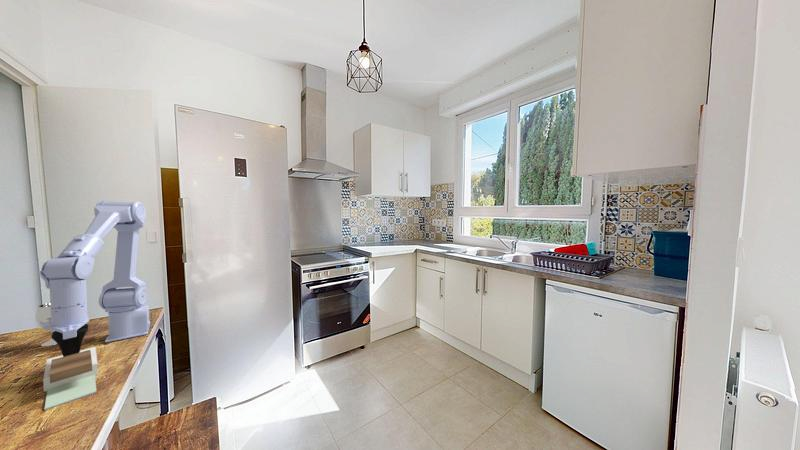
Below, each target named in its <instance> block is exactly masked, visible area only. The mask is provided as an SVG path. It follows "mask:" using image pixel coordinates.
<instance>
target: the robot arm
mask: <svg viewBox="0 0 800 450" xmlns="http://www.w3.org/2000/svg"><path fill="white" fill-rule="evenodd" d="M93 208H94V209H93V211H94V218H93V220H92V221H91V223H90V225H89V226H88V228H86V231H85V232H84V233H82V234H78V235H76V236H74V237H73V238H72V239H71V241H70V242H69V243H68V244H67V246H65V248H64V249H63V250H62V251H61V252H60V253H59V254H58V256H57V257H53V258H50V259H48V260H46V261H45V262H44V263H43V264H42V266H41V270H40V271H39V275H40V277H41V279H42V280H43V281H44V283H45V288H46V289H48V290H49V303H50V310H51V324H49V325H45V326H44V325H42V330H43V331H48V330H50V329H51V330H54V332H53V333H52V332H51V339H53V340H54V341H55V342H57V344H56V345H58V346H59V349H60V350H61V355H63V357H65V356H68V355H72V354H76V353H79V352H80V351H81V347H82V342H83V339H84V338H85V336H86V334H87V332H88V331H89V324H88V323H89V321H90V317H89V312H88V310H89V309H88V285H87V279H88V278H89V277H90V276H91V275H92V274H93V272H94V271H93V270H94V264H95V262H96V260H95V258H96V257H97V255H98V253H99V252H100V251H101V250H102V249H103V247H104V245H105V242H104V241H103V239H104V238H105V237H106V235H108V233H109V232H110V231H111V230H112V229H113V228H114V229H115V230H116V231H117V236H116V237H117V238H116V249H115V259H114V260H115V261H114V271H113V278H112V280H111V281H109V282H108V283H106V284H104V285H103V286H102V289H101V294H100V295H99V297H98V305H99V306H100V308H101V309H103V310H104V312H105V313H107V314H108V315H107V317H108V318H107V319H108V335H107V337H106V338H105V341H104V343H110V342H111V343H112V342H115V341H116V342H117V341H120V340H126V339H130V338H135V337H139V336H144V335H147V334H148V333H149V331H150V326H151V321H150V305H148V304H145V303H146V301H147V300H148V296H149V295H148V290H147V283H146V282H145V281H143V280H141V279H139V278H138V277H137V264H138V251H139V240H140V230H141V228H144V227H145V225H146V217H147V216H146V215H147V210H146V208H145V206H144V204H143V203H142V202H140V201H120V200H119V201H118V200H117V201H116V200H115V201H114V200H113V201H112V200H111V201H110V200H99V201H98V202H97V203H96V205H95V207H93ZM144 304H145V305H144ZM51 330H50V331H51Z"/></svg>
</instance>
